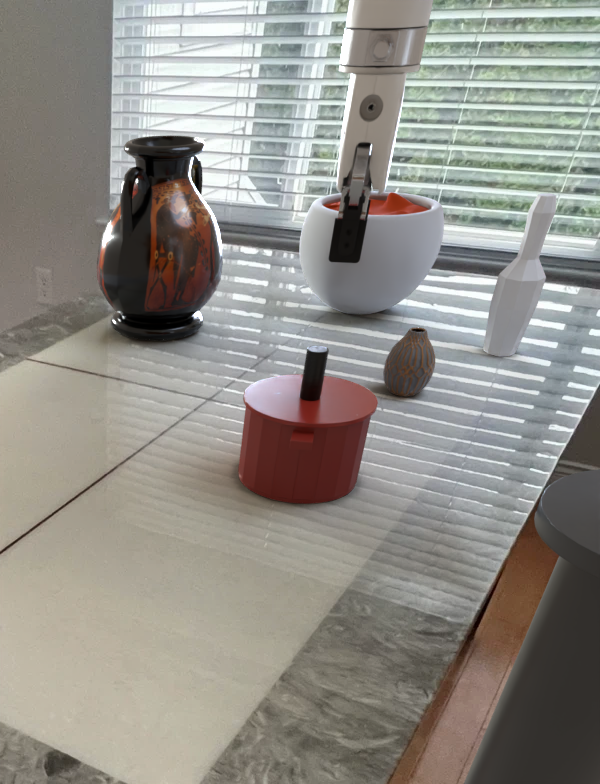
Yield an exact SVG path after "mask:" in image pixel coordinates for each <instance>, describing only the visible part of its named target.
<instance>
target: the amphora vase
mask: <svg viewBox="0 0 600 784" xmlns="http://www.w3.org/2000/svg"><path fill="white" fill-rule="evenodd" d="M206 146H207V145H206V142H205V141H204V140H203V139H201V138H199V137H196V136H189V135H173V134H172V135H150V136H141V137H136V138H131V139H130V140H127V141H126V142H125V144H124V146H123V151H124V152H125V153H126V154H127V155H129V156H131V157H132V158H134V160H135V166H133V167H129V169H127V170H126V173H125V174H124V176H123V180H122V182H121V190H120V197H119V199H120V201H119V203H117V205H116V207H115V208H114V210H113V211H112V212H111V214H110V216H109V218H108V219H107V222H106V224H105V227H104V228H103V231H102V235H101V238H100V240H99V241H100V242H99V243H98V244H99V245H98V250H97V257H96V280H97V283H98V286H99V289H100V291H101V293H102V294H103V296H104V298H105V300H106V302H107V303H108V304H109V306H110V307H111V308H112V309H113V310H114V312H113V314H112V315H111V318H110V326H112V329H113V330H114V331H115V332H117V333H118V334H119V335H122V336H124V337H126V338H130V339H134V340H140V341H149V342H152V341H153V342H156V341H157V342H162V341H172V340H179V339H183V338H186V337H189V336H191V335H193V334H196V333H197V332H198V331H199V330H200V328H202V326H203V324H204V316H203V314H202V313H201V312H200V311H201V310H202V309H203V307H204V306H205V305H206V304H208V302H209V301H210V300H211V298H212V297H213V296H214V295H215V292H216V291H217V290H218V287H219V285H220V282H221V279H222V273H223V265H224V260H223V259H224V258H223V244H222V242H223V241H222V236H221V231H220V228H219V225H218V222H217V218H216V217H215V214H214V213H213V211H212V209H211V208H210V206H209V205H208V204H207V202H206V201H205V200H204V198H203V197H202V194H203V193H202V192H203V182H204V181H203V166H202V162H201V159H200V158H199V157H198V155H199V154H201V153H204V151H205V149H206Z"/></svg>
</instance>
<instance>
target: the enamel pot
mask: <svg viewBox="0 0 600 784" xmlns="http://www.w3.org/2000/svg"><path fill="white" fill-rule="evenodd" d="M371 418H372V416H371V417H369V418H367V419H365V420H363V421H361V422H358V423H355V424H351V425H346V426H340V427H328V428H311V427H299V426H292V425H286V424H281V423H277V422H274V421H270V420H267V419H265V418H262V417H260V416H258V415H256V414H255V413H253V412H251V411H250V410H249V409H248V408H247V407H246V406H245V411H244V418H243V426H242V427H243V428H242V435H241V443H240V452H239V461H238V469H237V472H238V473H237V474H238V478H239V479H238V480H239V481H240V482H241V484H242V485H243V486H244V487H245V488H246V489H248V490H249V491H250V492H252V493H254V494H256V495H258V496H261V497H264V498H267V499H268V500H269V499H270V500H273V501H278V502H283V503H289V504H299V505H301V504H302V505H303V504H304V505H306V504H308V505H309V504H321V503H327V502H333V501H336V500H339V499H342V498H344V497H345V496H347V495H348V494H350V493H351V492H352V491H353V490H354V488H355V487H356V484H357V482H358V477H359V473H360V468H361V464H362V461H363V460H362V459H363V456H364V451H365V447H366V446H365V445H366V441H367V436H368V432H369V427H370V423H371Z"/></svg>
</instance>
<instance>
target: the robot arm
mask: <svg viewBox="0 0 600 784" xmlns="http://www.w3.org/2000/svg"><path fill="white" fill-rule="evenodd" d="M433 4H434V0H349V2H348V9H347V15H346V22H345V28H344V34H343V39H342V46H341V51H340V52H341V53H340V58H339V59H340V60H339V67H338V72H339V73H340V72H341V73H344V74H350V78H349V84H348V90H347V96H346V101H345V107H344V115H343V122H342V129H341V137H340V145H339V154H338V164H337V177H336V191H337V192H338V193H342V196H341V201H340V207H339V212H338V218H335V222H334V228H333V234H332V240H331V246H330V252H329V261H330V262H340V263H358V262H359V261H360V257H361V252H362V246H363V241H364V236H365V230H366V225H367V220H368V219H367V218H368V213H369V207H370V202H371V199H369V196H370V193H371V191H378V195H381V194H382V193H383V192H386V188H387V184H388V179H389V174H390V169H391V164H392V159H393V154H394V150H395V145H396V141H397V140H396V139H397V134H398V129H399V123H400V118H401V114H402V108H403V102H404V96H405V89H406V82H407V75H408V74H411V73H415V72H420V67H421V63H422V58H423V53H424V48H425V43H426V39H427V33H428V29H429V23H430V18H431V13H432V9H433Z"/></svg>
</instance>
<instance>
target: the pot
mask: <svg viewBox="0 0 600 784" xmlns="http://www.w3.org/2000/svg"><path fill="white" fill-rule="evenodd" d="M341 196H342V193H339V192H338V193H332V194H327V195H324V196H321V197H318V198H317V199H315V200H314V201H312V203H311V205H310V207H309V209H308V211H307V213H306V216H305V218H304V220H303V224H302V227H301V231H300V237H299V251H298V252H299V262H300V267H301V272H302V274H303V277H304V280H305V282H306V284H307V286H308V287H309V289H310V290H311V292H312V294H314V296H315V297H316V298H317V299H318V300H319V301H320V302H322V303H323V304H324V305H325V306H327V307H329V308H331V309H332V310H334V311H336V312H339V313H343V314H348V315H370V314H371V315H372V314H376V313H380V312H382V311H385V310H387V309H390V308H392V307H394V306H396V305H397V304H399V303H401V302H402V301H404V300H405V299H406V298H409V296H411V294H412V293H414V292H415V291H416V290H417V288H418V287H419V286H420V285H421V284H422V283H423V281H424V280H425V279H426V277H427V276H428V275H429V273H430V271H431V270H432V268H433V266H434V264H435V263H436V261H437V258H438V256H439V253H440V250H441V247H442V243H443V238H444V231H445V215H444V208H443V205H442V203H440V202H438V201H437V200H435V199H433V198H431V197H427V196H423V195H418V194H412V193H407V192H406V193H405V192H398V191H397V192H396V191H384V192H383V193H382V194H381V195H378V190H371V193H370V196H369V199H371V202H370V207H369V213H368V218H367V219H368V220H367V225H366V230H365V236H364V241H363V246H362V252H361V257H360V261H359V262H358V263H340V262H330V261H329V252H330V246H331V240H332V234H333V228H334V222H335V218H338V212H339V207H340V201H341Z"/></svg>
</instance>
